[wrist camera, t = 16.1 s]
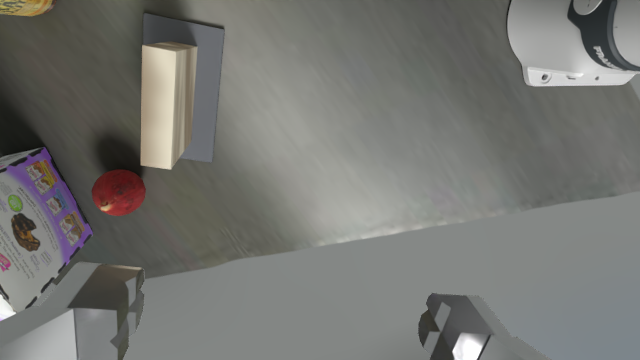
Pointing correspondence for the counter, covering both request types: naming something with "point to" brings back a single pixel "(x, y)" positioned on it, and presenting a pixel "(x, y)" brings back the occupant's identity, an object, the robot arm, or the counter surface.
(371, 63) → the counter surface
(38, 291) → the candy box
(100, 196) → the onion
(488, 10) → the counter surface
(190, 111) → the pale wooden block
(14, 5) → the sauce bottle
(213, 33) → the felt pad
